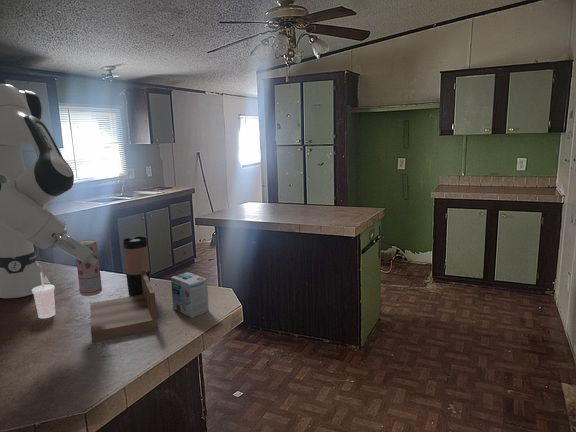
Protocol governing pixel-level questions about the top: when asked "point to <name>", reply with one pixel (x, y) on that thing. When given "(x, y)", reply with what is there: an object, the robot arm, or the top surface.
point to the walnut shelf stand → (124, 314)
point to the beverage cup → (44, 299)
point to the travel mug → (136, 263)
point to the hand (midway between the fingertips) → (90, 259)
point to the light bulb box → (190, 294)
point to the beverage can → (89, 272)
